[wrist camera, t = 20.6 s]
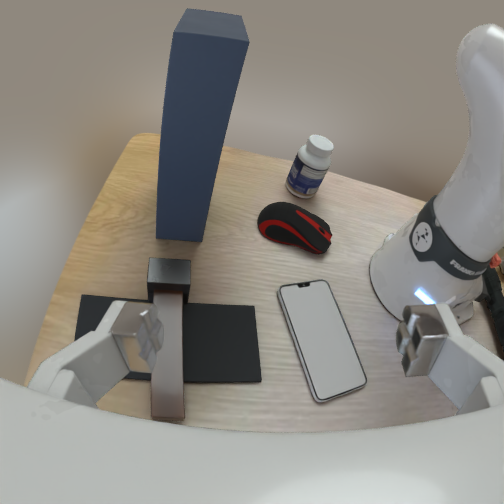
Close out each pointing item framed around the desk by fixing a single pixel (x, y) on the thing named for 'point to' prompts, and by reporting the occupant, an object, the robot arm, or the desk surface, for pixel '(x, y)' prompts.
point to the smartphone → (321, 339)
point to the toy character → (502, 265)
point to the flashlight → (495, 300)
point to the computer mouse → (294, 227)
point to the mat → (198, 339)
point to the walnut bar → (169, 335)
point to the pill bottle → (310, 167)
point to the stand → (196, 118)
